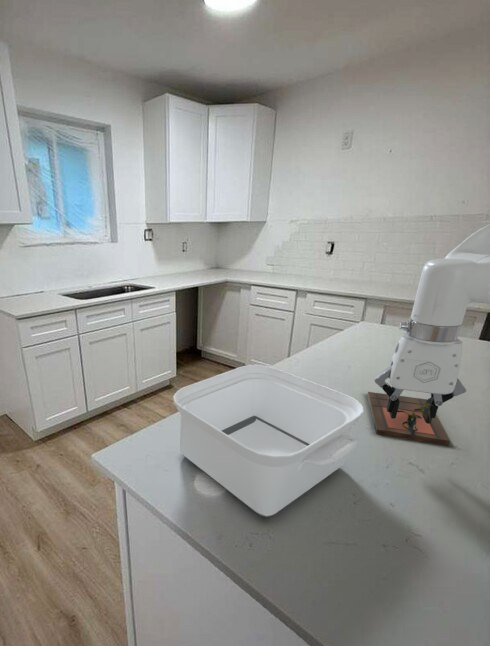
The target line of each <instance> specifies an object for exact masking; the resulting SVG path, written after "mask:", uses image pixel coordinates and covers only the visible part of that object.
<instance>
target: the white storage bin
mask: <svg viewBox="0 0 490 646" xmlns="http://www.w3.org/2000/svg"><path fill="white" fill-rule="evenodd" d="M172 398H173V404H174V405H175V407H176V409H177V411H178V413H180V421H179V422H180V424H179V425H180V426H179V428H180V429H179V450H180V454H182V456H183V457H184V458H185V459H187V460H188V461H189V462H190V463H191V464H193V465H194V466H196V468H198V469H199V470H200V471H202V472H203V473H204V474H206V475H207V476H208V477H209V478H211V479H212V480H213V481H215V483H217V484H218V485H219V486H221V488H223V489H225V490H226V491H227V492H229V494H231V495H232V496H234V497H235V498H236V499H237V500H239V501H240V502H241V503H243V504H244V505H245V506H246V507H248V508H249V509H250V510H252V511H253V512H254V513H256V514H257V516H260V517H262V518H272V517H274V516H275V515H276V514H277V513H279V512H280V511H282V510H283V509H284V508H286V507H288V506H289V505H290V504H292V503H293V502H294V501H296V500H297V499H299V498H300V497H302V496H303V495H304V494H305V493H307V492H308V491H310V490H311V489H313V488H314V487H315V486H316V485H318V484H319V483H320V482H322V481H323V480H325V479H326V478H328V477H329V476H330V475H332V474H333V473H335V472H336V471H337V470H339V469H340V468H342V466H343V465H344V464H345V462H346V459H347V458H346V457H347V456H348V455H350V454H351V453H352V452H354V450H355V449H356V446H357V444H358V439H357V438H356V436H355V437H354V436H352V435H351V433H352V427H354V425H355V424H356V423H357V422H358V421H359V419H360V418H361V417H362V416H363V414H364V413H365V410H364V406H363V404H362V403H361V402H360V401H358V400H357V399H356V398H354V397H353V396H350V395H349V394H346V393H344V392H341V391H339V390H335V389H333V388H330V387H327V386H325V385H323V384H319V383H317V382H314V381H312V380H309V379H306V378H304V377H301V376H298V375H296V374H292V373H290V372H287V371H285V370H282V369H279V368H277V367H273V366H269V365H263V364H247V365H243V366H239V367H235V368H233V369H230V370H228V371H225V372H222V373H220V374H217V375H214V376H211V377H208V378H206V379H202V380H200V381H197V382H194V383H192V384H188V385H186V386H184V387H181V388H179V389H178V390H176V391H175V393H174V394H173V396H172Z"/></svg>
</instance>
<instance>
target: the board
mask: <svg viewBox="0 0 490 646" xmlns="http://www.w3.org/2000/svg"><path fill="white" fill-rule="evenodd" d="M366 396H367V401H368V405H369V409H370V413H371V418H372V422H373V425H374V431H375V434H376V435H381V436H382V435H383V436H389V437H393V438H394V437H395V438H401V439H408V440H414V441H421V442H426V443H431V444H437V445H438V444H439V445H445V446H450V444H451V443H450V442H451V440H450V438H449V436H448V434H447V432H446V431H445V429H444V427H443V425H442V423H441V421H440V420H439V418H438V416H437V415H436V416H435V418H432V421H431V423H430V424H428V423H426V422H425V420H424V418H423V416H422V415H423V414H422V413H421V411H414V410H415V409H418V408H421V407H423V406H425V404H426V401H427V400H428V398H420V397H412V396H405V395H404V396H403V395H400V396H399V398H398V399H399V401H400V403H399V407H398V410H399V411H400V410H401V411H405V412H406V413H408V414H413V413H412V412H413V411H414V413H415V415H419V416H420V417H421V418H422V419H420V418H417V419H416V425H415V426H414V427H417V429H418V430H417V431H414V432H415V436H414V437H413V436H412V435H411V433H410V430H407V429H405V428H404V427H403V426H402V423H403V422H405V421H408V420H407V419H408V414H406V413H405V412H399V413H398V412H397V415H396V418H394V419H393V418H391V416H390V413H389V412H387V405H388V401H389V396H388V395H387V394H386V393H382V392H381V393H380V392H375V391H374V392H372V391H367V394H366ZM423 411H424V408H423ZM411 420H413V419H411ZM404 426H405V427H407V428H408V425H407V423H406V424H404ZM414 427H413V428H414ZM414 430H416V429H415V428H414Z"/></svg>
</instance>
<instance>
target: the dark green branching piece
mask: <svg viewBox="0 0 490 646" xmlns="http://www.w3.org/2000/svg"><path fill="white" fill-rule="evenodd" d="M429 405H430V404H429V403H427V404H425V406H423V407H421V408H418V409H415V410H414V411H421V413H422V414H423V415H424V417H425V419H426V422H428V419H427V417H426V415H425V413H424V412H423V408H428V406H429ZM429 410H430V409H429ZM414 411H413V412H412V413H413V414H408V413H406V412H405V411H401V410H400V411H399V410H398V411H397V412H398V413H399V412H405V413H406V414H408V419H407V420H408V421H405V422H403V423H402V426H403V427H404V428H405V429H407V430H410V433H411V435H412V436H413V437H414V436H415V432H414V431H417V430H418V429H417V427H414V426H415V425H416V419H417V418H420V419H422V418H421V417H420V416H419V415H415V413H414ZM411 419H413V420H411ZM431 421H432V418H431V415H430V411H429V422H430V423H431ZM406 423H407V425H408V428H407V427H405V426H404V424H406ZM413 427H414V428H415V429H416V430H414V428H413Z"/></svg>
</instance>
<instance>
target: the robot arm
mask: <svg viewBox="0 0 490 646" xmlns="http://www.w3.org/2000/svg"><path fill="white" fill-rule="evenodd" d="M471 303H476V304H486V305H490V223H489V224H487V225H485V226H483V227H481V228H479V229H478V230H476V231H475V232H473V233H472V234H470V235H469V236H468V237H466V238H465V239H464V240H463V241H462V242H460V243H459V244H458V245H457V246H456V247H454V248H453V249H452V250H451V251H450V252H449V253H447V255H446V256H445V257H443V258H435V259H431V260H428V261H427V262H425V263H424V265H423V267H422V270H421V274H420V277H419V281H418V285H417V289H416V295H415V298H414V302H413V306H412V310H411V315H410V317H409V318H408V320H407V321H404V322H401V321H400V323H399V326H398V329H399V330H400V331H401V330H402V331H404V333H403V334H402V335H401V337H400V338H399V340H398V343H397V345H396V347H395V350H394V353H393V355H392V358H391V361H390V364H389V366H388V367H386V368H385V369H384V370H382V371H381V372H379V373H378V374H377V375H375V376H374V377H373V381H374V383H375V384H377V386H378V387H379V388H381V389H382V390H383V391H384V393H385V394H387V395H388V396H389V401H388V405H387V412H389V413H390V416H391V418H393V419H394V418H396V415H397V411H398V407H399V403H400V401H399V399H398V398H399V396H401V394H402V393H403V391H409V392H414V393H415V392H416V393H423V394H424V393H426V394H430V397H429V398H427V401H426V404H427V403H429V404H430V405H429V406H428V408H424V411H423V412H424V413H425V415H426V417H427V419H428V422H426V419H425V417H424V415H422V416H423V418H424V420H425V422H426V423H428V424H430V422H429V411H430V415H431V418H435V416H437V412H438V411H439V410H438V409H439V407H441V406H443V404H444V403H446V402H447V401H449V400H451V399H453V398H454V397H457V396H460V395H462V394H464V393H466V392H467V389H466V387H465V385H463V383H462V382H461V380H460V379H459V373H460V367H461V362H462V354H463V342H462V341H461V340H460V339H459V335H460V332H461V328H462V325H463V322H464V319H465V315H466V313H467V312H466V311H467V309H468V305H470V304H471ZM387 379H389V383H388V382H387V381H386V380H387ZM429 409H430V410H429Z"/></svg>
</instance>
